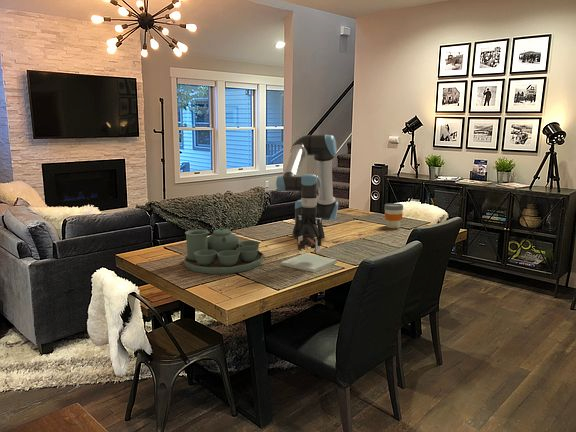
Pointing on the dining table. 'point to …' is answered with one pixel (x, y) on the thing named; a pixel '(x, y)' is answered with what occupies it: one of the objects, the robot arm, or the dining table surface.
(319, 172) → the robot arm
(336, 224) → the dining table surface
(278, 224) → the dining table surface
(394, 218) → the reusable coffee cup
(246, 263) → the tea set
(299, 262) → the sage tile
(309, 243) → the pottery mug
